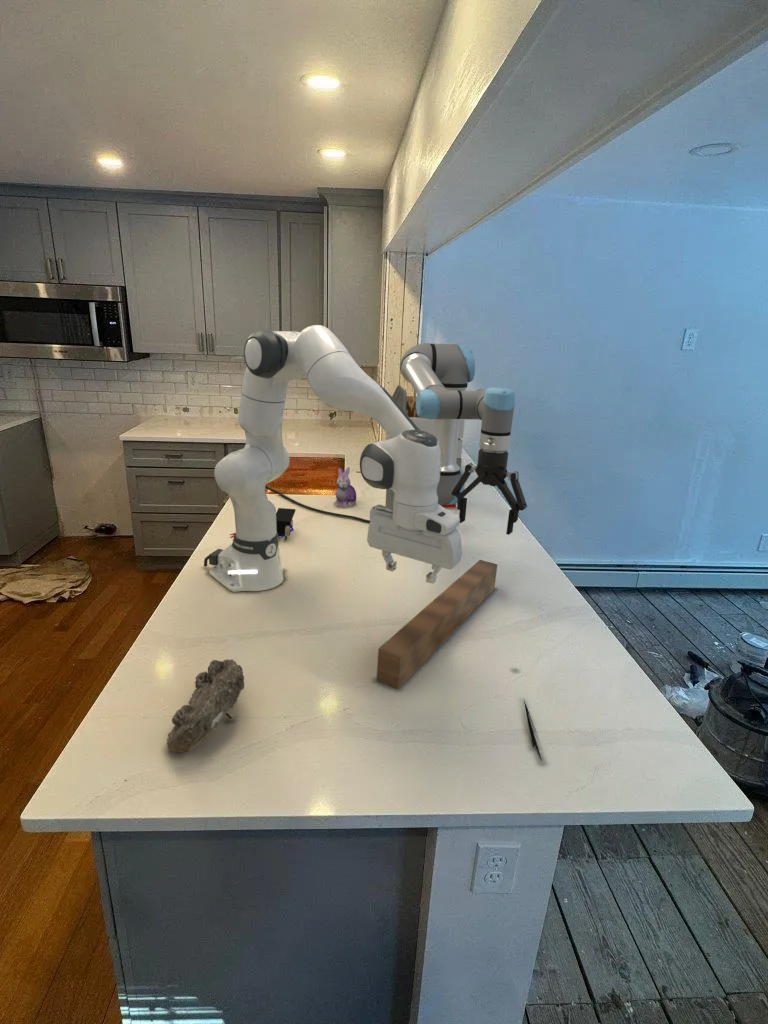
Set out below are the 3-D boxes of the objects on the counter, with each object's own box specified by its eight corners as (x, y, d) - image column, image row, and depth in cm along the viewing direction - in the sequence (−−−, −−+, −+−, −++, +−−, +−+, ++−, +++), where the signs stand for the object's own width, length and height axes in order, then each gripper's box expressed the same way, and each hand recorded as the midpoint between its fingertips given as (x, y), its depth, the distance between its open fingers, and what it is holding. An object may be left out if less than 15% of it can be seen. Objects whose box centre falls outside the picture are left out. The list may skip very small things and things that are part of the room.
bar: (477, 583, 166) (480, 559, 163) (494, 588, 163) (497, 564, 161) (376, 679, 121) (378, 648, 118) (398, 688, 119) (400, 657, 116)
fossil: (192, 660, 117) (244, 628, 112) (224, 691, 120) (276, 661, 115) (142, 746, 98) (202, 712, 93) (182, 779, 101) (242, 748, 96)
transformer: (382, 463, 289) (386, 382, 275) (445, 464, 293) (451, 384, 279) (390, 482, 257) (394, 392, 243) (460, 483, 261) (468, 394, 247)
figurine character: (291, 546, 188) (296, 525, 202) (290, 526, 185) (296, 506, 198) (270, 546, 188) (277, 525, 201) (269, 526, 185) (276, 506, 198)
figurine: (339, 509, 221) (340, 472, 216) (329, 501, 229) (330, 465, 224) (361, 506, 225) (362, 470, 220) (351, 498, 234) (352, 463, 228)
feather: (515, 674, 127) (521, 668, 126) (541, 765, 100) (548, 758, 100) (509, 670, 127) (514, 664, 126) (533, 761, 100) (540, 753, 99)
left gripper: (362, 506, 115) (360, 568, 120) (454, 529, 105) (448, 595, 110) (378, 498, 120) (376, 558, 125) (467, 519, 110) (461, 583, 115)
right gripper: (443, 444, 148) (437, 520, 155) (537, 460, 136) (525, 542, 143) (455, 440, 154) (448, 513, 161) (546, 455, 142) (534, 533, 149)
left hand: (410, 575), depth 117 cm, fingers open, 8 cm apart
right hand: (485, 527), depth 152 cm, fingers open, 13 cm apart
